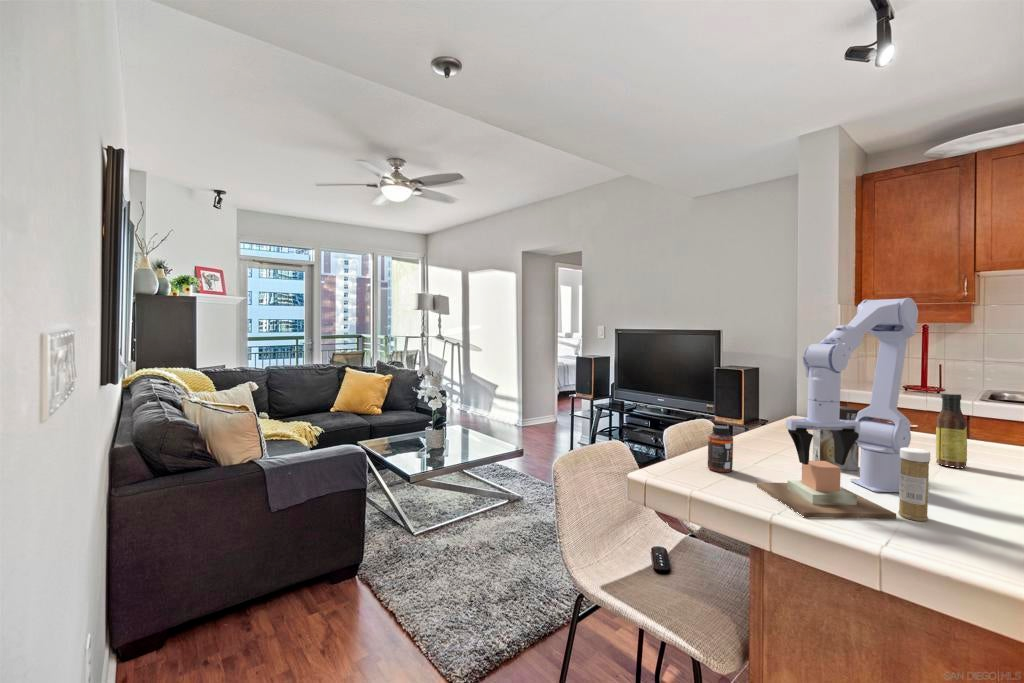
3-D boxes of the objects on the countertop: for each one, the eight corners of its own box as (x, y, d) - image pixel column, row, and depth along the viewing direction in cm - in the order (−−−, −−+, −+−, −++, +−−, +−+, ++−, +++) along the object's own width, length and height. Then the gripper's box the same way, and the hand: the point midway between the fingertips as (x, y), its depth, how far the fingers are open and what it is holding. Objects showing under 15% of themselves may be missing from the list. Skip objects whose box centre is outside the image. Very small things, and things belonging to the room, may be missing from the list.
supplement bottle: (735, 474, 121) (736, 429, 120) (710, 472, 122) (711, 428, 121) (729, 467, 126) (730, 424, 126) (705, 465, 128) (706, 423, 127)
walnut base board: (834, 487, 111) (834, 475, 111) (896, 518, 93) (896, 503, 93) (756, 486, 111) (757, 473, 111) (803, 517, 93) (804, 502, 93)
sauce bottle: (973, 469, 127) (976, 395, 127) (949, 469, 127) (952, 395, 127) (950, 462, 134) (953, 392, 133) (928, 462, 134) (931, 391, 133)
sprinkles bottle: (931, 518, 93) (933, 450, 93) (923, 523, 91) (926, 453, 90) (902, 511, 97) (904, 445, 97) (893, 515, 94) (896, 448, 94)
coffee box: (849, 464, 131) (851, 406, 130) (858, 471, 124) (861, 410, 124) (811, 461, 133) (813, 404, 133) (818, 467, 127) (820, 407, 127)
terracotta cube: (824, 483, 105) (825, 460, 104) (839, 491, 100) (840, 467, 99) (801, 483, 105) (802, 460, 104) (815, 490, 100) (816, 467, 99)
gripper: (844, 397, 105) (842, 458, 106) (779, 396, 105) (777, 457, 106) (868, 402, 98) (866, 468, 99) (797, 402, 98) (795, 467, 99)
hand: (821, 463), depth 102 cm, fingers open, 7 cm apart
